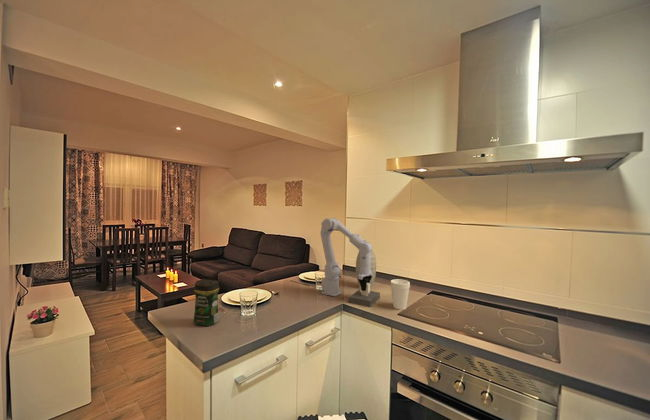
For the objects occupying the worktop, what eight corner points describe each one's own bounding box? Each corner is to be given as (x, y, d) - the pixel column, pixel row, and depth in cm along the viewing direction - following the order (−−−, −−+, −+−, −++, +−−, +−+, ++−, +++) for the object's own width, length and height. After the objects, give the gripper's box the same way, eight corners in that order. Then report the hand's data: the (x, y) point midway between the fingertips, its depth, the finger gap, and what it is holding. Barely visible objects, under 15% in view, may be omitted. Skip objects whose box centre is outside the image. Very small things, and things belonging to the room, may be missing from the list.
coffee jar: (190, 325, 112) (190, 281, 112) (203, 317, 120) (203, 276, 120) (209, 328, 110) (210, 283, 110) (221, 320, 118) (222, 278, 117)
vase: (352, 285, 173) (353, 241, 173) (370, 283, 177) (370, 241, 177) (360, 291, 161) (361, 244, 161) (379, 289, 165) (380, 244, 164)
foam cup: (402, 312, 130) (402, 285, 130) (386, 306, 137) (387, 281, 137) (412, 307, 136) (413, 282, 136) (397, 302, 143) (398, 278, 143)
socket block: (348, 302, 142) (348, 296, 142) (360, 294, 156) (360, 289, 156) (370, 306, 136) (370, 301, 136) (380, 297, 150) (380, 292, 150)
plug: (359, 298, 146) (359, 283, 145) (361, 296, 149) (362, 282, 148) (367, 299, 143) (368, 284, 143) (370, 297, 146) (370, 283, 146)
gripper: (367, 268, 137) (367, 294, 138) (376, 263, 150) (376, 287, 150) (354, 266, 141) (354, 292, 141) (364, 261, 153) (364, 285, 154)
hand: (364, 289), depth 146 cm, fingers closed on plug, 3 cm apart
